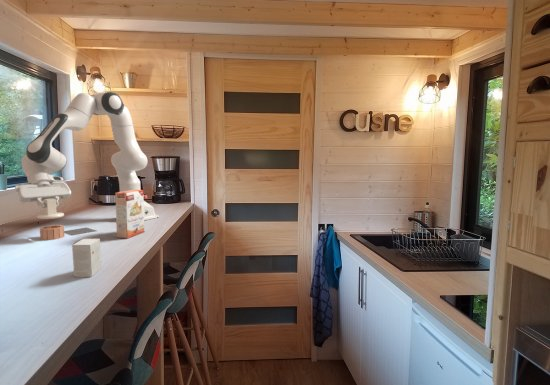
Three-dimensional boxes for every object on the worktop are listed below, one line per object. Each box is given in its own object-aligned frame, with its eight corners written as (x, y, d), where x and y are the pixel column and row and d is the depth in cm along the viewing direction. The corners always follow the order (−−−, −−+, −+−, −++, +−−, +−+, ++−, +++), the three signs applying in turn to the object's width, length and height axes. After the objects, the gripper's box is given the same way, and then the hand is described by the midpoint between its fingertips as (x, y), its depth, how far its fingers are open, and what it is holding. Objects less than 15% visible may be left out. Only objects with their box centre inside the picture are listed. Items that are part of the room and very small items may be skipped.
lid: (58, 214, 166) (57, 197, 165) (67, 216, 160) (66, 199, 159) (33, 217, 158) (32, 199, 157) (42, 219, 152) (41, 201, 151)
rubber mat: (86, 228, 181) (86, 227, 181) (97, 231, 174) (97, 230, 174) (60, 232, 171) (60, 231, 171) (71, 236, 164) (71, 235, 164)
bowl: (59, 235, 166) (58, 224, 166) (67, 238, 161) (67, 226, 160) (37, 238, 159) (36, 227, 159) (45, 242, 154) (44, 230, 153)
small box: (84, 269, 120) (82, 238, 119) (101, 268, 121) (100, 238, 120) (73, 277, 112) (71, 244, 111) (91, 277, 113) (90, 244, 112)
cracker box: (128, 238, 161) (126, 192, 158) (116, 238, 162) (114, 192, 159) (145, 231, 174) (143, 189, 172) (134, 231, 176) (132, 189, 173)
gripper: (15, 179, 153) (25, 204, 148) (66, 177, 169) (76, 199, 164) (12, 189, 156) (22, 213, 151) (62, 185, 172) (72, 208, 168)
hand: (50, 206), depth 158 cm, fingers closed on lid, 3 cm apart
